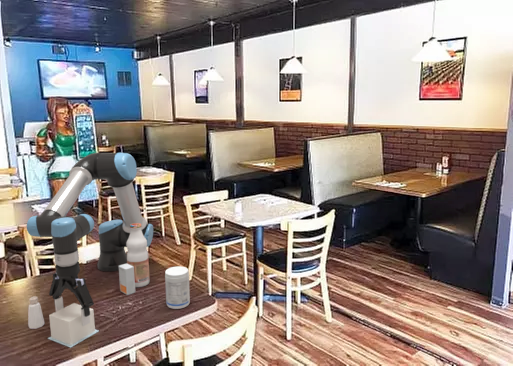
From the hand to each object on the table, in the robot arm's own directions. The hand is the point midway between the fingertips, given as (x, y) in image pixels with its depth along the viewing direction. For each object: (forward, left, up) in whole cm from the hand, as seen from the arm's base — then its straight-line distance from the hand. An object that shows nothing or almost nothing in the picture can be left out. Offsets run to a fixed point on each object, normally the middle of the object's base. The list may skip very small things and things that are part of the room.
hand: (73, 319), depth 150 cm
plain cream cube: (0, 0, -6) cm, 6 cm away
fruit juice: (-44, -11, -6) cm, 45 cm away
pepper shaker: (+2, -18, -6) cm, 19 cm away
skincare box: (-35, -9, -6) cm, 36 cm away
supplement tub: (-36, +18, -6) cm, 40 cm away
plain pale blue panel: (0, 0, -6) cm, 6 cm away
